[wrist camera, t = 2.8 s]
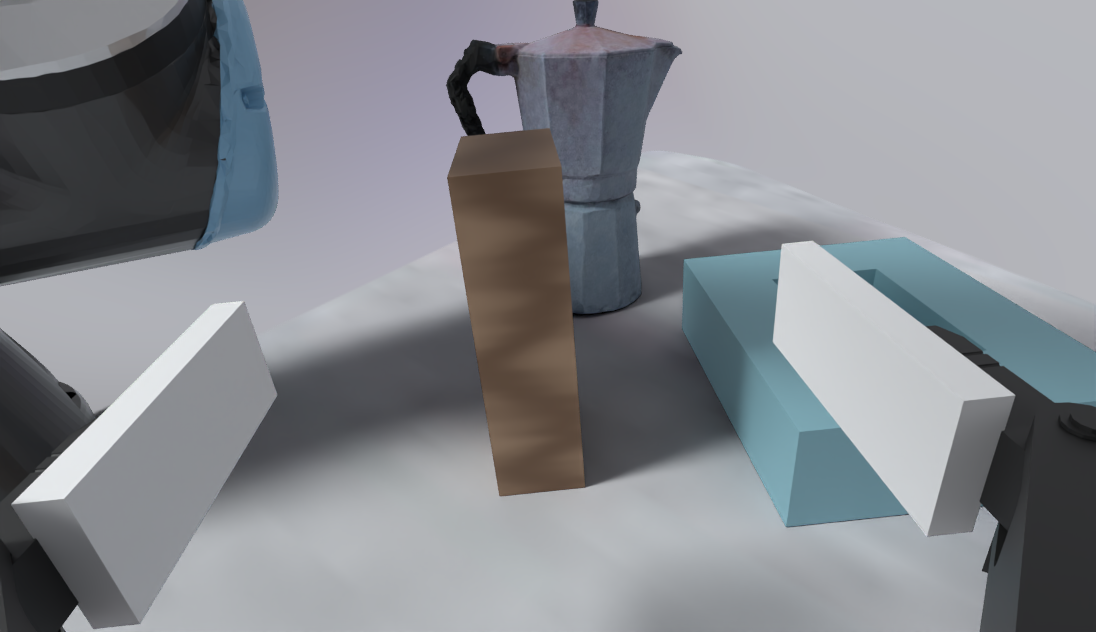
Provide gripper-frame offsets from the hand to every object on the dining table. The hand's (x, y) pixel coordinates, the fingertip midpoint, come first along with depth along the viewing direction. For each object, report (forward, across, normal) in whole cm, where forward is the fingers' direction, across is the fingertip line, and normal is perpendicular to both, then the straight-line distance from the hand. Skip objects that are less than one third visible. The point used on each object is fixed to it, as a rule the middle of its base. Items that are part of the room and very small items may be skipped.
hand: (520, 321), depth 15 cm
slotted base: (+13, +17, -13) cm, 25 cm away
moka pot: (+28, +4, -13) cm, 32 cm away
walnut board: (+12, 0, -13) cm, 17 cm away
